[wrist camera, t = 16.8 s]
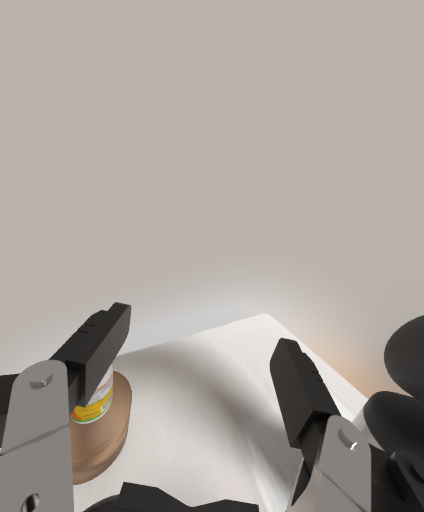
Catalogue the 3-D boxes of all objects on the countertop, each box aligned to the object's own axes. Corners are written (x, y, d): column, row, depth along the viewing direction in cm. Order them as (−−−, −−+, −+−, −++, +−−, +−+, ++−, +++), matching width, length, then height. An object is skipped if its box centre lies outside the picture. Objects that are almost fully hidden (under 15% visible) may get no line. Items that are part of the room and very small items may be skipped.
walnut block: (124, 392, 39) (127, 362, 36) (132, 460, 30) (137, 428, 28) (52, 413, 33) (50, 380, 31) (37, 505, 25) (32, 470, 22)
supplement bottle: (69, 394, 30) (65, 344, 26) (110, 381, 33) (111, 334, 29) (67, 433, 26) (63, 380, 22) (114, 414, 28) (116, 365, 25)
